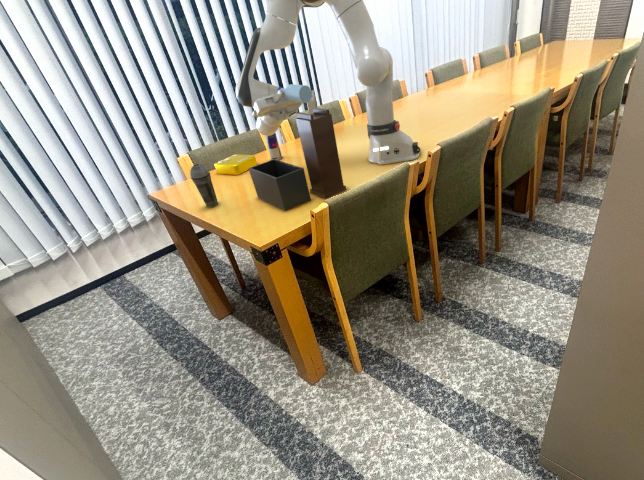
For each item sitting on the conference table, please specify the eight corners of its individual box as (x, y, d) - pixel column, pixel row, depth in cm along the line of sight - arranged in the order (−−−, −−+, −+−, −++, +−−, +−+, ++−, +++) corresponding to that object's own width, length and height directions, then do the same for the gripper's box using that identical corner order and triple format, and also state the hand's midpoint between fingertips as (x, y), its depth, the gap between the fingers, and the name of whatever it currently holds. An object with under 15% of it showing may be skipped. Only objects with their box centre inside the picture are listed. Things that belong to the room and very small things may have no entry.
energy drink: (279, 160, 190) (272, 133, 182) (269, 161, 191) (262, 134, 184) (283, 156, 194) (276, 130, 186) (273, 157, 195) (266, 131, 187)
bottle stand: (310, 193, 152) (292, 113, 134) (331, 184, 156) (316, 106, 138) (325, 198, 145) (308, 116, 127) (346, 189, 149) (332, 108, 131)
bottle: (276, 101, 142) (272, 84, 138) (288, 98, 144) (284, 82, 140) (301, 104, 131) (297, 86, 128) (313, 101, 133) (310, 84, 130)
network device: (311, 131, 226) (302, 91, 213) (326, 128, 226) (318, 88, 213) (311, 143, 206) (301, 100, 193) (327, 140, 206) (319, 96, 193)
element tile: (238, 175, 180) (234, 164, 177) (215, 173, 187) (211, 163, 184) (259, 164, 189) (256, 153, 186) (237, 163, 196) (233, 153, 193)
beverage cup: (205, 210, 152) (182, 157, 139) (202, 205, 157) (179, 152, 144) (223, 205, 154) (202, 151, 141) (219, 199, 159) (199, 147, 146)
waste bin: (258, 198, 155) (248, 168, 147) (282, 188, 160) (274, 158, 152) (285, 211, 141) (276, 178, 134) (311, 200, 146) (303, 168, 138)
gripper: (246, 108, 145) (255, 88, 133) (293, 95, 154) (305, 75, 142) (255, 125, 147) (265, 107, 135) (300, 111, 155) (313, 93, 143)
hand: (286, 90), depth 138 cm, fingers closed on bottle, 2 cm apart
